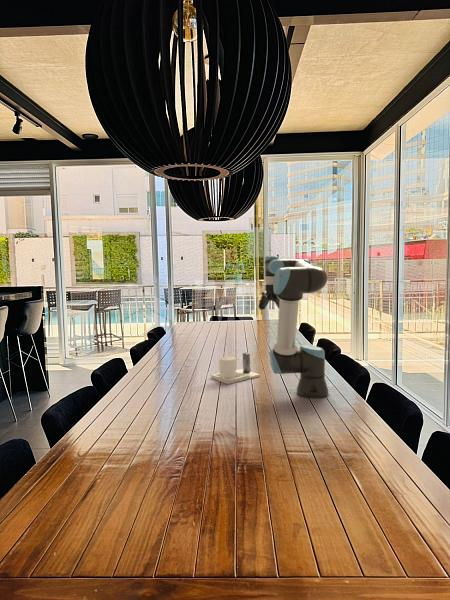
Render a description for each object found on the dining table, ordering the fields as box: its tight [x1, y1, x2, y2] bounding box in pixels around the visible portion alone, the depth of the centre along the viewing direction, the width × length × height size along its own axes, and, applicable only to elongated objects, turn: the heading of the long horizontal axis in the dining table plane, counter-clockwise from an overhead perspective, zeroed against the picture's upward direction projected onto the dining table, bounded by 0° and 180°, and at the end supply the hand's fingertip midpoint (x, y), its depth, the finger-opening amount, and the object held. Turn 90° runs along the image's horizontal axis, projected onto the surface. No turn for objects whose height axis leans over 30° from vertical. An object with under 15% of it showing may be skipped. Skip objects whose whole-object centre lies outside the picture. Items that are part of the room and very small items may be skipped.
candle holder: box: [218, 355, 237, 379], centre depth 237 cm, size 10×10×12 cm
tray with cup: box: [210, 352, 261, 385], centre depth 241 cm, size 16×22×12 cm
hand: (272, 321), depth 241 cm, fingers open, 13 cm apart
